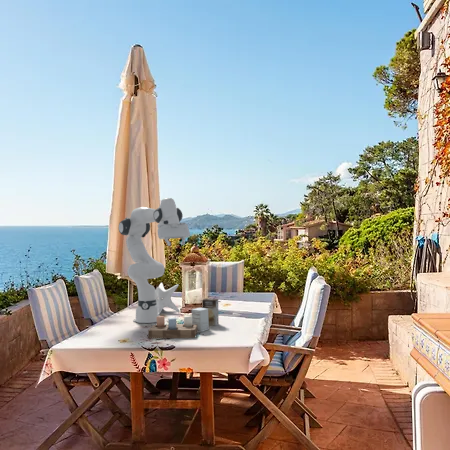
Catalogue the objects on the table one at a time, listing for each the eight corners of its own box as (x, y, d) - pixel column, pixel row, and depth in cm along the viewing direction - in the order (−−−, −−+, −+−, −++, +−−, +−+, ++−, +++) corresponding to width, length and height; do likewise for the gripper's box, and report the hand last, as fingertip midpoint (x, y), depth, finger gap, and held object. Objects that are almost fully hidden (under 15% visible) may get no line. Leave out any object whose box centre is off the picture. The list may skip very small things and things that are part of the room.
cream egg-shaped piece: (184, 326, 290) (184, 315, 290) (192, 325, 290) (192, 315, 290) (183, 327, 286) (183, 317, 286) (191, 327, 285) (191, 317, 285)
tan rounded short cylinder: (157, 326, 291) (157, 316, 291) (165, 326, 291) (165, 316, 291) (156, 327, 286) (155, 317, 286) (164, 327, 286) (163, 317, 286)
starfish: (179, 311, 364) (179, 284, 365) (158, 315, 350) (157, 287, 350) (162, 308, 378) (161, 282, 378) (140, 312, 364) (140, 285, 364)
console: (153, 332, 293) (153, 324, 293) (197, 332, 291) (197, 324, 291) (148, 338, 278) (148, 330, 278) (194, 337, 276) (194, 329, 276)
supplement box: (199, 328, 303) (199, 307, 303) (209, 329, 298) (208, 308, 298) (191, 330, 297) (191, 309, 297) (200, 331, 292) (200, 310, 292)
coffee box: (202, 325, 310) (201, 299, 310) (205, 323, 316) (204, 298, 316) (216, 326, 308) (215, 300, 308) (219, 324, 314) (218, 298, 314)
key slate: (169, 328, 284) (168, 318, 284) (177, 328, 283) (176, 318, 283) (167, 330, 279) (167, 319, 279) (176, 330, 279) (175, 319, 279)
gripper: (184, 224, 310) (188, 245, 306) (154, 225, 298) (159, 247, 294) (189, 221, 305) (193, 242, 301) (159, 221, 293) (163, 244, 289)
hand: (176, 245), depth 298 cm, fingers open, 8 cm apart
